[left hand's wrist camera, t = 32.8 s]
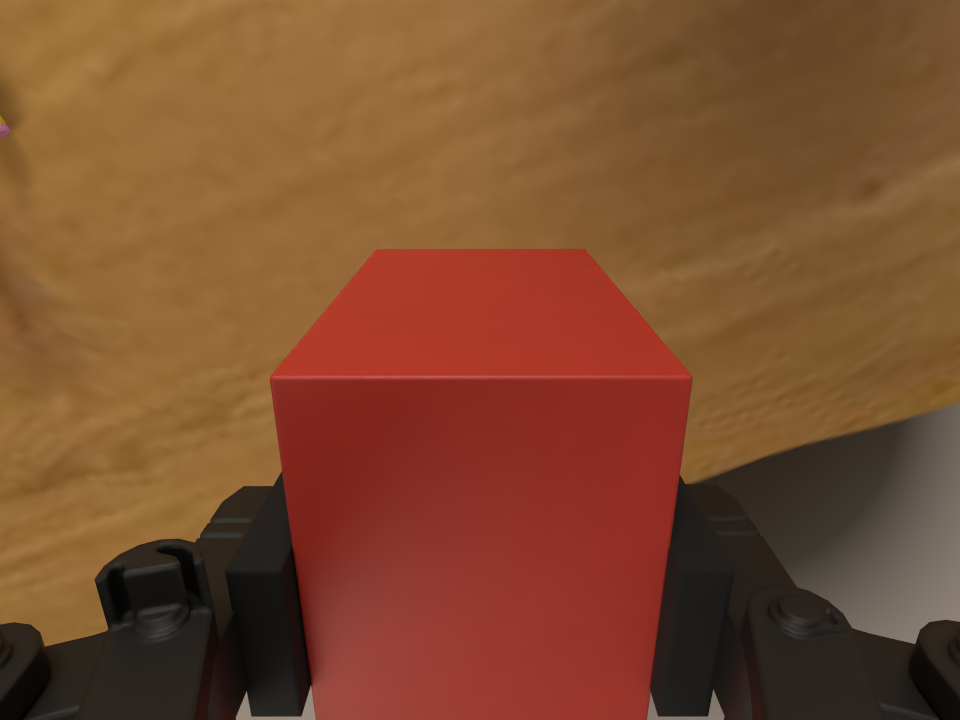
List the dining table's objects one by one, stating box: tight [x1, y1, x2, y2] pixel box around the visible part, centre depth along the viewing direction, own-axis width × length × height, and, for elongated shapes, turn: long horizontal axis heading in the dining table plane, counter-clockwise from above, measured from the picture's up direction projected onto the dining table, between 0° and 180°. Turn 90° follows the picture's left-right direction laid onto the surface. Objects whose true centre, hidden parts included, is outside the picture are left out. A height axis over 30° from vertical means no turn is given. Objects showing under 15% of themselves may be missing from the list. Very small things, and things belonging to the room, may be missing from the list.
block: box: [270, 249, 692, 720], centre depth 13 cm, size 8×5×8 cm
